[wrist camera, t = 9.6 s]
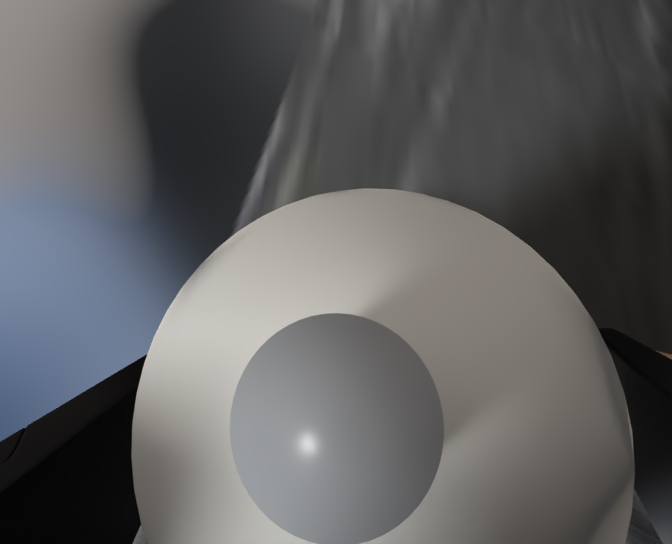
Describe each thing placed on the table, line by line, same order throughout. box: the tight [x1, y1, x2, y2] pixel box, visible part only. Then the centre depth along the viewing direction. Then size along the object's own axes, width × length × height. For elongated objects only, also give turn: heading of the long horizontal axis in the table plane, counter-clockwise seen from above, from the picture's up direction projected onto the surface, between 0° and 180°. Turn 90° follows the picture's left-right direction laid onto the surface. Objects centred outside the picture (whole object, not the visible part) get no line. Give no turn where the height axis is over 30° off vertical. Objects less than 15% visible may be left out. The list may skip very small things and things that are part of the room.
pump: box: [131, 188, 635, 544], centre depth 10 cm, size 6×6×14 cm
